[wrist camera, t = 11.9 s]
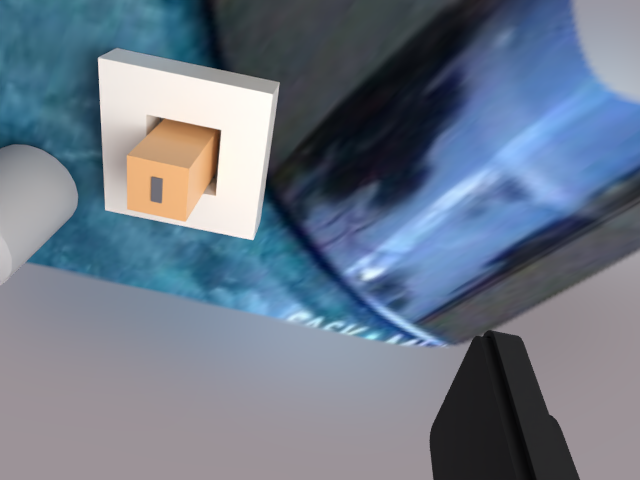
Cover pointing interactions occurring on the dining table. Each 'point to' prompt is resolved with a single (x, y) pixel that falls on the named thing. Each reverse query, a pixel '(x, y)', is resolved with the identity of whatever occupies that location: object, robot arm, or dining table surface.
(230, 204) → the outlet plate
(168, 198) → the charger
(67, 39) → the dining table surface
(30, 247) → the can
